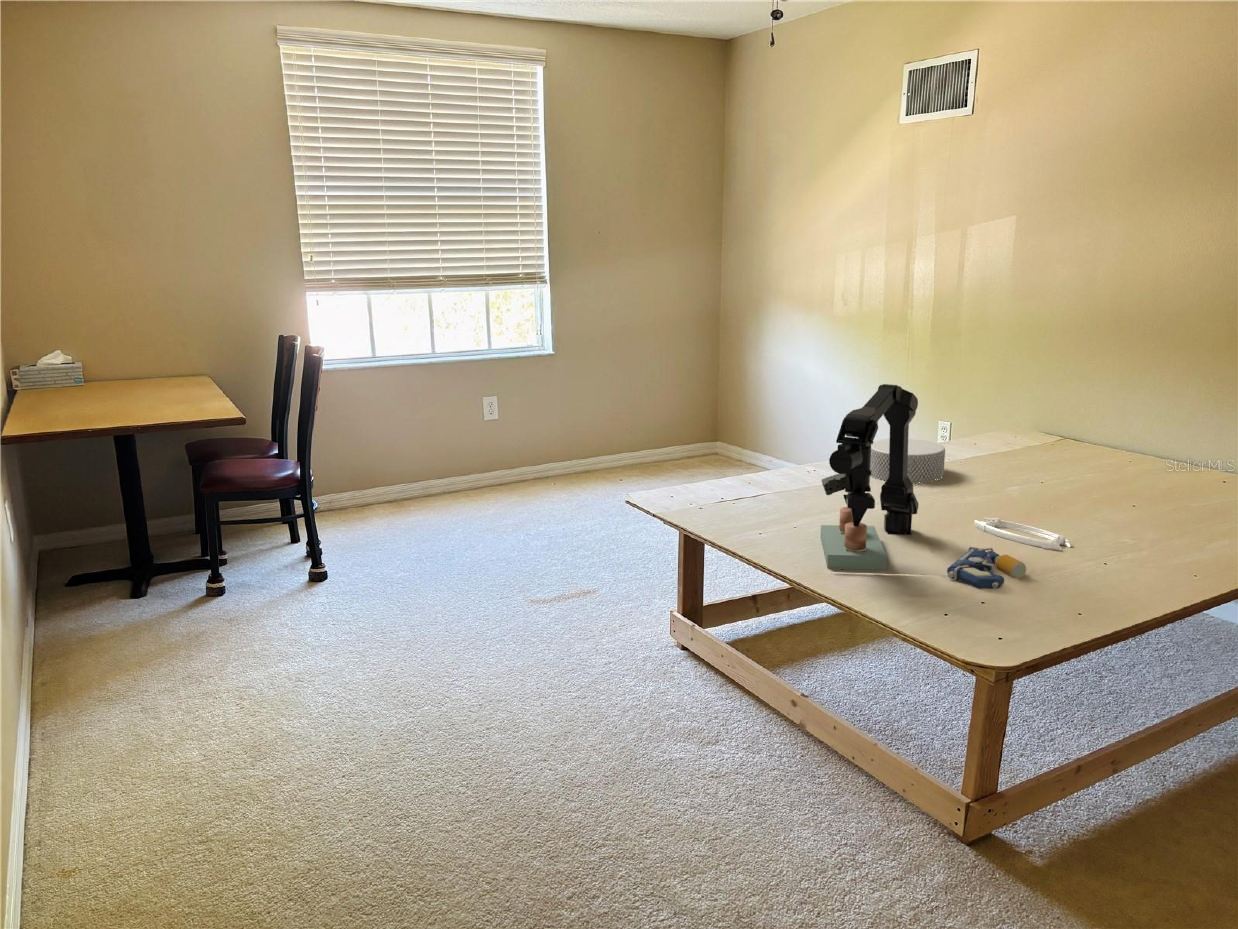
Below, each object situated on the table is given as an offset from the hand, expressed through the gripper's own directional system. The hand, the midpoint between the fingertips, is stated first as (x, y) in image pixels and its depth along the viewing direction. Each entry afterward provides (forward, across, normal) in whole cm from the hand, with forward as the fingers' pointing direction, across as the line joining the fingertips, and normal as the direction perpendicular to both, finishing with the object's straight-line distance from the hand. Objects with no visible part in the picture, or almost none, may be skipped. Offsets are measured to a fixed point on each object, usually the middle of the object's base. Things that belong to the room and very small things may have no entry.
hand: (855, 525), depth 207 cm
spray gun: (+11, +5, +30) cm, 33 cm away
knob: (+10, -88, +26) cm, 92 cm away
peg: (+10, 0, 0) cm, 10 cm away
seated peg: (+10, -13, 0) cm, 16 cm away
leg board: (+10, -6, 0) cm, 12 cm away
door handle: (+11, -24, +46) cm, 53 cm away
